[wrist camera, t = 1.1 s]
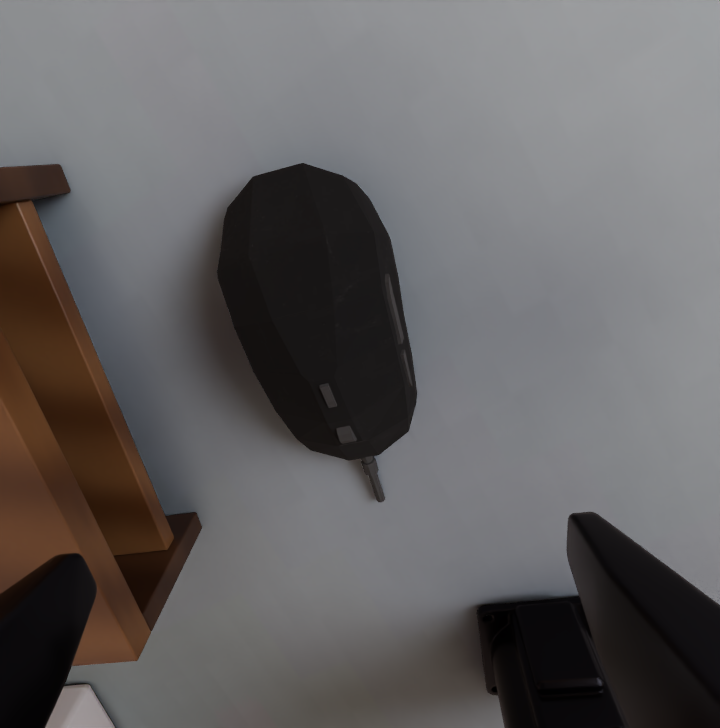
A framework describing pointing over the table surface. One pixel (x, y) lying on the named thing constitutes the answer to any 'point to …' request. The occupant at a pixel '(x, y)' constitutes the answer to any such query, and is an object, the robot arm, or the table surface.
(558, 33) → the table surface
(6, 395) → the walnut wood stand
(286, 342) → the gaming mouse
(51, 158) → the table surface
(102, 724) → the medicine bottle
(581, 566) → the robot arm
